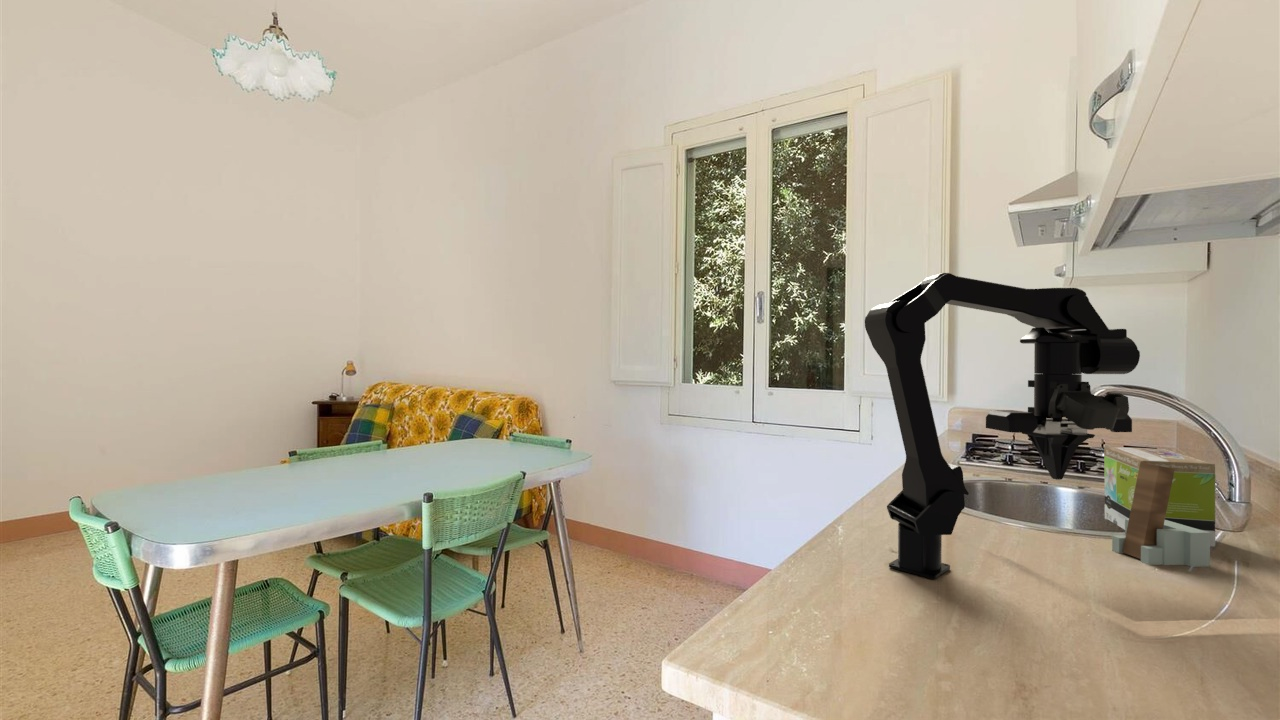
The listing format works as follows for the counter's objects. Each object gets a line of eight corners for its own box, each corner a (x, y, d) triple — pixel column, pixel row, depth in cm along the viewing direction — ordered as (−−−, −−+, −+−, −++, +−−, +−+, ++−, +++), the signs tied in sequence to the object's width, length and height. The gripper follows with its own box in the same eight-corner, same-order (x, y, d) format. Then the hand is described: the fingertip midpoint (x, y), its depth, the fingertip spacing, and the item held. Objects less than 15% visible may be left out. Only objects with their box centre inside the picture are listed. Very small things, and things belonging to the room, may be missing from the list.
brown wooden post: (1140, 559, 85) (1159, 465, 85) (1122, 552, 88) (1140, 462, 88) (1156, 562, 85) (1174, 469, 85) (1137, 555, 88) (1155, 465, 88)
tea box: (1101, 523, 109) (1102, 445, 109) (1168, 528, 106) (1168, 448, 106) (1140, 547, 95) (1141, 458, 95) (1218, 555, 92) (1219, 461, 92)
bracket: (1145, 575, 82) (1145, 533, 82) (1097, 556, 90) (1097, 518, 90) (1214, 574, 83) (1214, 532, 83) (1160, 555, 91) (1160, 517, 91)
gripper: (1038, 375, 77) (1037, 492, 77) (1169, 376, 78) (1168, 490, 78) (983, 373, 88) (983, 475, 88) (1099, 373, 89) (1098, 474, 90)
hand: (1056, 479), depth 86 cm, fingers closed
